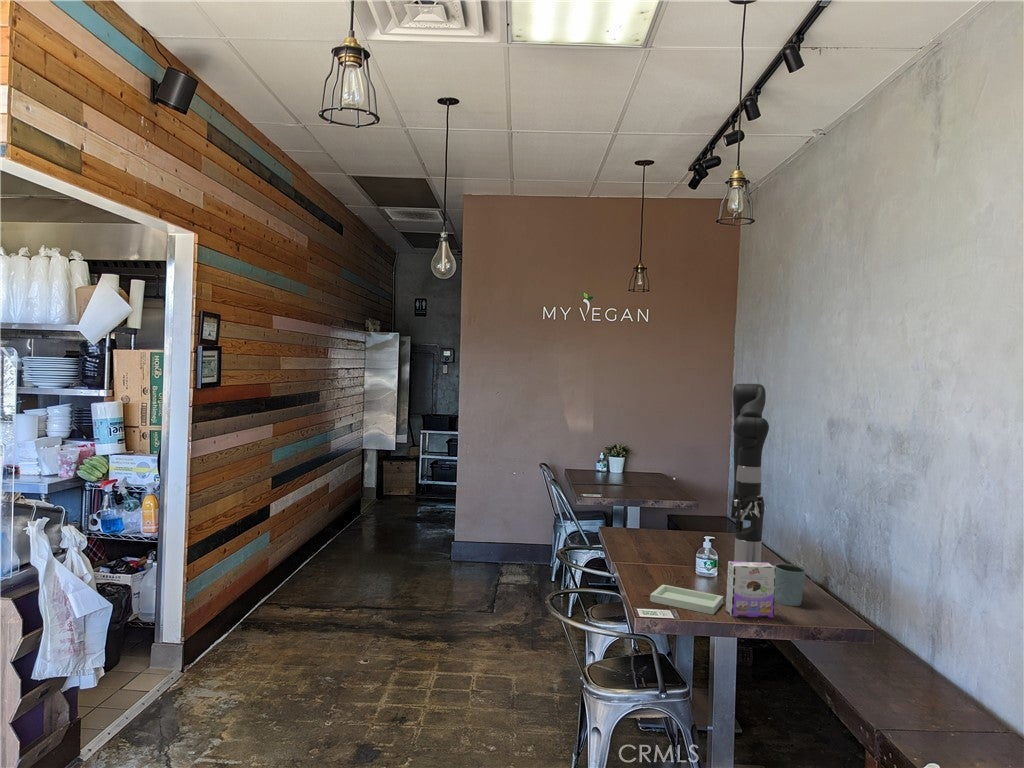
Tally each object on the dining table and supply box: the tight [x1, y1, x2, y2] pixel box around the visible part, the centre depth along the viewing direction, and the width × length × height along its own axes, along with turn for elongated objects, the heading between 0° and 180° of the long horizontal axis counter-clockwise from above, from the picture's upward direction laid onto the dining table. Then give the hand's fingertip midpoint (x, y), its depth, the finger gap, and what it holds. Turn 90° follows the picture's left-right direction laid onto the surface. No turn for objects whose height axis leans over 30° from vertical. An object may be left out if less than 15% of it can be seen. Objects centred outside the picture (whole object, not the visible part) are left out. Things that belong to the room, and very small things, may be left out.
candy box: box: [725, 560, 776, 618], centre depth 217 cm, size 14×6×16 cm, turn 92°
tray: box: [649, 584, 724, 615], centre depth 226 cm, size 14×21×2 cm, turn 61°
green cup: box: [774, 563, 807, 607], centre depth 232 cm, size 10×10×12 cm
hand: (746, 530), depth 215 cm, fingers open, 8 cm apart
